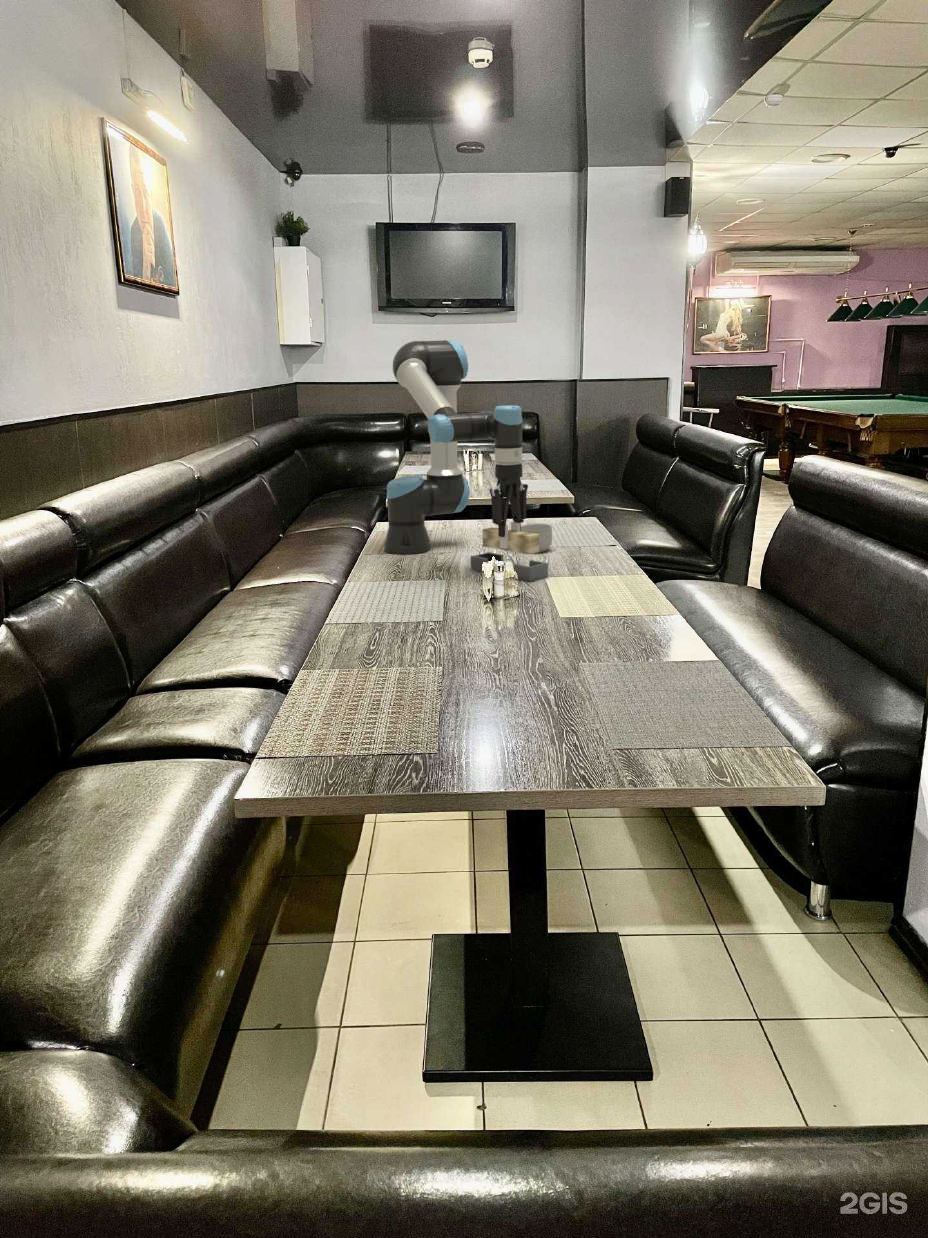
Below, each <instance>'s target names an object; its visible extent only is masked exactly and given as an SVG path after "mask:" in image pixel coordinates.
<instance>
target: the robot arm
mask: <svg viewBox="0 0 928 1238" xmlns="http://www.w3.org/2000/svg"><path fill="white" fill-rule="evenodd" d="M392 372H393V375H394V378H395V379H396V381H397V382H398V384H399V385H400V386H401V387H403V388H406V390H407V391H408V392H409V394H410V396H411V397H412V398H413V400H414V401H415V402H416V403H417V405H418V406H419V408H420V410H421V411H422V413H423V414H424V415H425V417H426V418H427V419H428V422H427V432H428V434H429V439H430V468H429V469H428V470H427V472H426V479H424V478H423V476H422V475H405V476H400V477H397V478H394V479H391V480H390V481H388V483H387V485H386V501H387V518H388V519H387V520H388V522H387V523H388V529H387V533H386V537H385V540H384V543H383V544H384V545H383V547H384V549H383V550H384V551H385V552H386V553H389V554H393V555H415V554H421V553H425V552H428V551H430V550H431V549H432V542H431V539H430V537H429V534H428V531H427V529H426V526H425V524H426V522H425V517H426V516H436V515H446V514H449V515H451V514H454V513H460V512H462V511H463V510H464V509H465V508H466V507H467V506H468V504H469V503H468V502H469V499H470V485H469V480H468V479H467V477H465V476H463V471H462V470H461V469H460V468H459V466H458V463H459V462H458V442H465V441H468V442H469V441H483V440H494V462H495V463H496V464H495V465H494V471H495V472H494V473H495V474H494V475H495V478H496V479H497V483H496V486H495V487H494V488H490V489H489V495H490V497H491V498H490V499H491V517H492V518H491V521H492V522H491V523H492V524H494V525H497V526H498V527H497V528H498V531H499V532H498V535H499V537H500V548H505V549H508V548H509V542H508V530H509V525H508V524H507V521H508V519H507V518H508V513H509V505H510V511H511V518H512V521H511V522H510V530H514V531H521V526H522V525H521V523H522V524H523V523H524V521H525V520H526V518H527V492H528V488H529V485H528V484H527V483H522V480H521V478H522V477H523V464H522V462H523V416H522V407H521V406H519V405H509V404H508V405H498V406H497V405H496V406H495V407H494V411H491V410H488V411H481V412H465V413H458V411H457V410H458V409H457V408H458V406H457V405H458V403H457V391H458V390H459V389H460V388H461V386H462V380H464V379H465V378H466V377H467V375H468V372H469V362H468V355H467V352H466V350H465V348H464V346H463V345H462V344H461V343H460V342H459V341H456V340H446V339H445V340H414V341H410V342H406V343H405V344H404V345H402V346H401V347H400V348H399V349H398V350H397V351H396V353H395V355H394V357H393V360H392ZM509 503H510V504H509Z"/></svg>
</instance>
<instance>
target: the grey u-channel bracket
mask: <svg viewBox="0 0 928 1238" xmlns="http://www.w3.org/2000/svg"><path fill="white" fill-rule="evenodd" d="M493 556H494V557H495V559H496V560H498V561H503V562H504V554H502V553H495V552H490V551H487V552H483V553H480V554H475V555H471V556H470V571H476V572H481V573H483V572H482V564H483V562H488V561H491V560H492V557H493Z"/></svg>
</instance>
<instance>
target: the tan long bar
mask: <svg viewBox="0 0 928 1238" xmlns="http://www.w3.org/2000/svg"><path fill="white" fill-rule="evenodd" d="M498 532H499V531H498V527H487V528H482V547H485V548H489V549H491V548H492V549H497V550H502V551H507V552H508V551H509V552H512V553H514V552H515V553H521V554H526V555H533V554H537V553H540V552H539V534H535V533H528V532H521V531H514V530H511V529H508V542H509V548H508V549H505V548H500V537H499V535H498Z"/></svg>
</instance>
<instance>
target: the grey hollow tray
mask: <svg viewBox="0 0 928 1238" xmlns="http://www.w3.org/2000/svg"><path fill="white" fill-rule="evenodd" d="M528 563H529V565H523V564H517V563H515V564H513V570H514V569H515V570H516V573H517V575H518V579H517V580H518V581H521V582H522V581H523V582H528V583H532V582H537V581H539V580H542V579H543V580H544V579H546V578H548V577H549V563H548V562H543V561H538V560H534V559H530V560H529V562H528Z"/></svg>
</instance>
